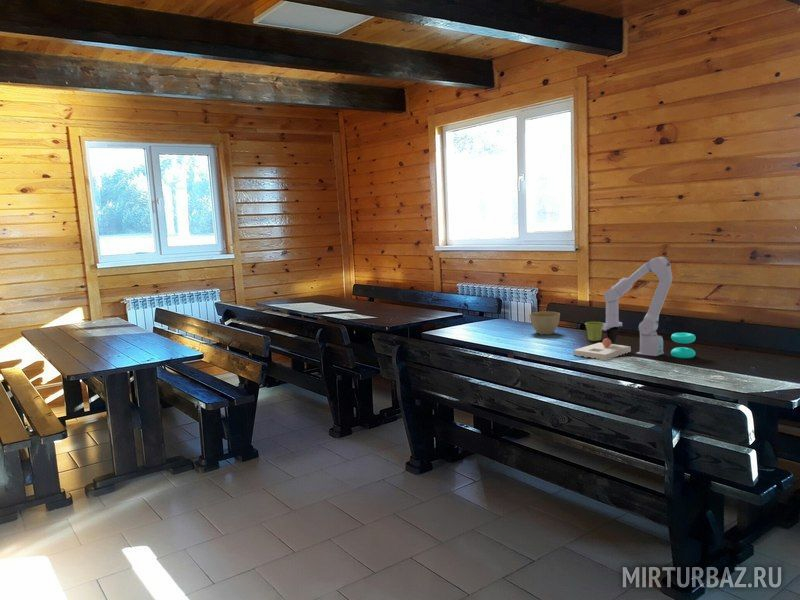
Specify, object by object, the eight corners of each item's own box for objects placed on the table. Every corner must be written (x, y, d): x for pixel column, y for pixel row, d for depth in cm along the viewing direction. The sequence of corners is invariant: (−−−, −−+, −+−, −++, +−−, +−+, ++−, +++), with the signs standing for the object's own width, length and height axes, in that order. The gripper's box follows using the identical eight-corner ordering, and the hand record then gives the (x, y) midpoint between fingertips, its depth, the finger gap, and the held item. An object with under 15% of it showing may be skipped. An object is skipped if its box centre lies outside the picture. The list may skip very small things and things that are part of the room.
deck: (630, 351, 291) (630, 346, 291) (605, 360, 277) (605, 354, 277) (599, 347, 303) (599, 342, 303) (573, 355, 289) (573, 350, 289)
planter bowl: (531, 330, 356) (531, 311, 355) (561, 331, 351) (560, 311, 350) (528, 335, 341) (528, 315, 339) (559, 336, 336) (558, 316, 334)
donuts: (669, 335, 275) (672, 331, 284) (669, 357, 276) (672, 353, 285) (694, 336, 270) (697, 332, 279) (694, 359, 271) (696, 355, 280)
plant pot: (583, 341, 320) (583, 324, 319) (586, 337, 328) (586, 321, 327) (602, 342, 316) (602, 325, 315) (605, 338, 324) (605, 322, 323)
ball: (613, 346, 292) (613, 338, 292) (608, 348, 290) (608, 339, 289) (605, 345, 295) (605, 337, 295) (600, 347, 293) (600, 338, 292)
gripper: (612, 312, 301) (612, 339, 303) (596, 315, 292) (596, 344, 294) (626, 313, 296) (626, 341, 298) (609, 317, 287) (609, 346, 288)
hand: (612, 343), depth 295 cm, fingers closed
